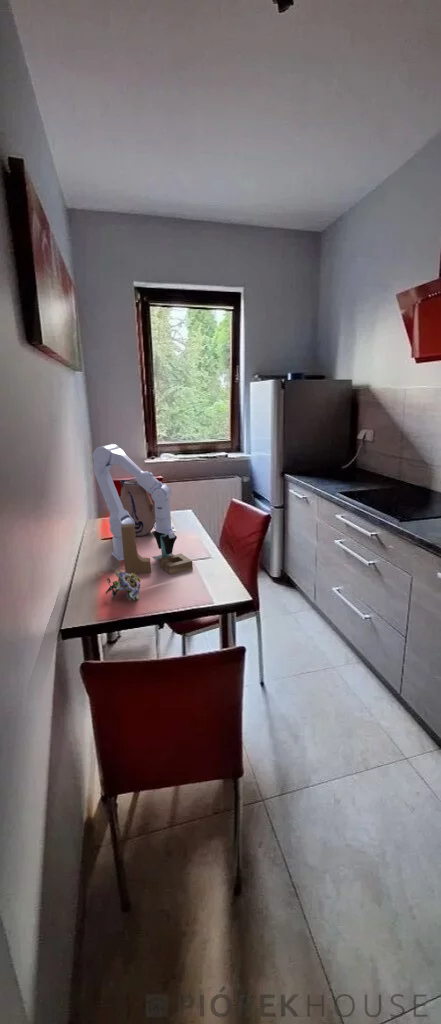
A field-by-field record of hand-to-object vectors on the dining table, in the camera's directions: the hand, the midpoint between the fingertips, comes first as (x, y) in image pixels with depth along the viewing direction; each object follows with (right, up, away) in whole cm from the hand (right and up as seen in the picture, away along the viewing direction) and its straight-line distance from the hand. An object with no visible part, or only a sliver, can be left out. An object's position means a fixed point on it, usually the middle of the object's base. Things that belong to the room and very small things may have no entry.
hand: (165, 550), depth 164 cm
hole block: (+5, -6, -9) cm, 12 cm away
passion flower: (-9, -13, -31) cm, 34 cm away
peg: (0, -3, +1) cm, 3 cm away
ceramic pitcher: (-15, +5, +32) cm, 35 cm away
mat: (0, -3, +1) cm, 3 cm away
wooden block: (-8, -7, -11) cm, 15 cm away
